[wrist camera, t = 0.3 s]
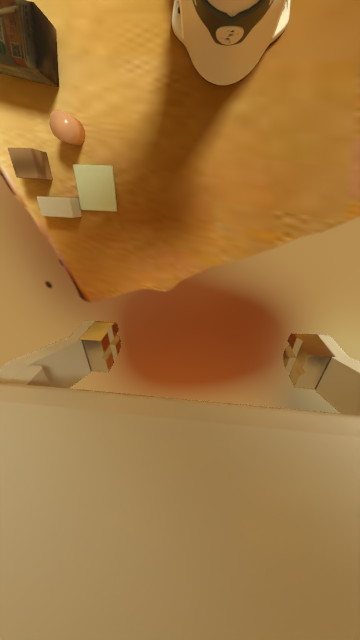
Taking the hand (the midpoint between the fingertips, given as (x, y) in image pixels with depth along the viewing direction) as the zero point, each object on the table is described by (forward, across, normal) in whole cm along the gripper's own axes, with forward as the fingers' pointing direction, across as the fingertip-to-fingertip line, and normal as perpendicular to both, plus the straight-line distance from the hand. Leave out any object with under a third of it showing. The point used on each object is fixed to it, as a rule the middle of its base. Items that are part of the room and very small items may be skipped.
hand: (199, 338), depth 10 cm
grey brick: (+47, +35, -3) cm, 59 cm away
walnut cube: (+47, +39, -12) cm, 62 cm away
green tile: (+47, +26, -7) cm, 54 cm away
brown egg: (+47, +28, -17) cm, 58 cm away
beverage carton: (+48, +38, -29) cm, 68 cm away
